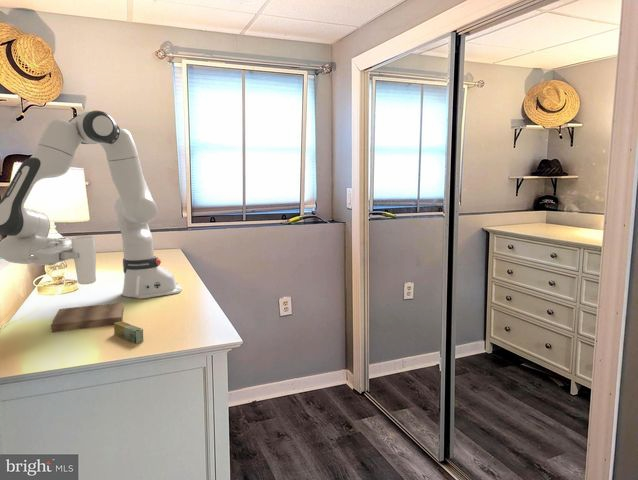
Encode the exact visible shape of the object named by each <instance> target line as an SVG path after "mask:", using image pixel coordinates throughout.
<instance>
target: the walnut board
mask: <svg viewBox="0 0 638 480" xmlns="http://www.w3.org/2000/svg"><path fill="white" fill-rule="evenodd" d="M124 311H125V310H124V302H117V303H106V304H103V303H102V304H97V305H96V304H95V305H87V306H75V307H65V308H59V309H58V311H57V313H56V314H55V316H54V318H53V320H52V322H51V323H50V327H51V328H50V329H51V330H50V331H51V333H57V332H58V333H59V332H66V331H74V330H77V331H78V330H84V329H91V328H92V329H94V328H101V327H110V326H114V323H116V322H120V321H122V322H123V320H124V319H123V318H124Z"/></svg>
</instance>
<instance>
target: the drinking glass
mask: <svg viewBox="0 0 638 480" xmlns="http://www.w3.org/2000/svg"><path fill="white" fill-rule="evenodd" d="M71 240H72V251H73V253H74V252H75V253H79V256H80V257H79V258H77V259H73V261H74V267H75V272H76V278H77V283H78V284H79V285H90V284H91V285H92V284H94V283H95V282H96V281H97V277H96V270H97V268H96V266H97V265H96V264H97V261H96V260H97V259H96V257H97V246H96V238H95V236H94V235H77V236H73V237H71Z"/></svg>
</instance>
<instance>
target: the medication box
mask: <svg viewBox="0 0 638 480" xmlns="http://www.w3.org/2000/svg"><path fill="white" fill-rule="evenodd" d="M113 333H114V335H115V336H116V337H118V338H121V339H123V340H126V341H128V342H131V343H132V344H135V345H137V344H140V343H143V342H144V329H143V328H141V327H140V326H139V327H138V326H135V325H134V324H133V325H132V324H130V323H129V322H125V321H123V320H122V321H120V322H116V323H114V325H113Z"/></svg>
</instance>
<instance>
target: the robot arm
mask: <svg viewBox="0 0 638 480" xmlns="http://www.w3.org/2000/svg"><path fill="white" fill-rule="evenodd" d="M39 139H40V140H39V141H38V144H37V146H36V149H35V150H34V152H33V153H32V155H31V156H30V157H28V158H26V159H25V160H24V161H23V162H22V163H21V164H20V165H19V167H18V169H17V171H16V172H15V174H14V176H13V178H12V179H11V181H10V183H9V185H8V187H7V188H6V190H5V192H4V195H3V196H2V197H1V199H0V235H1V236H6V237H4V238H3V239H2V240H0V257H1V258H2V259H3V260H5V261H6V262H8V263H12V264H20V265H30V264H34V265H40V266H54V265H56V264H58V263H61V262H65V261H67V260H74V259H77V258H79V257H80V256H79V253H75V252H74V253H73V251H72V239H70V238H69V237H59V238H55V237H49V236H48V235H49V232H50V228H51V227H50V226H51V223H50V220H49V219H50V218H49V217H48V215H46V214H45V213H44V212H40V211H37V210H33V209H29V208H26V207H25V206H24V205H25V204H26V201H27V199H28V197H29V195H30V194H31V192H32V189H33V188H34V186H35V184H37V182H40V181H41V180H42V179H43V180H44V179H50V178H58V177H61V176H63V175H65V174H66V173H67V172H68V171H69V169H70V168H71V165H72V164H73V161H74V157H75V154H76V151H77V149H78V147H79V146H80V144H82V145H97V144H99V145H100V146H101V147H102V148H103V150H104V153H105V155H106V160H107V165H108V167H109V168H108V169H109V172H110V175H111V180H112V183H113V184H114V186H115V189H116V190H117V192H118V194H119V197H117V199H116V200H115V203H114V210H115V213H116V215H117V216H116V217H117V222H118V226H119V230H120V234H121V238H122V249H123V259H122V270H123V274H124V276H123V278H124V279H123V288H122V293H121V295H122V296H124V297H126V298H127V297H128V298H136V299H140V300H142V299H149V298H155V297H161V296H168V295H175V294H178V293H181V292H182V290H183V289H182V285H181V284H180V283H177V282H176V278H175V275H174V274H173V273H172V272H171V271H170V270H168V269H167V268H165V267H163V266H162V265H161V264H162V260H161V259H160V258H159V257H158V256H155V253H154V252H155V251H154V239H153V234H152V232H151V229H150V227H149V223H152V222H153V221H154V220H155V219H156V218H157V217H158V213H159V208H158V206H157V203H156V201H154V198H153V197H152V196H153V195H152V193H151V191H150V188H149V185H148V184H147V181H146V179H145V176H144V173H143V169H142V168H143V167H142V164H141V160H140V157H139V153H138V148H137V145H136V144H135V141H134V139H133V136H132V134H131V132H130V131H129V130H127V129H125V128H121V127H120V126H119V125H118V124H117V123H116V121H115V119H114V118H113V117H112V116H111V115H110V114H108V113H107V112H104V111H102V110H91V111H89V110H87V111H85V112H82V113H81V114H78V115H75V116H74V117H73V118H70V120H66V119H59V118H57V119H52V120H51V121H49V123H48V125H47V126H46V128H45V129H44V131H43V132H42V134H41V137H40V138H39Z"/></svg>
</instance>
